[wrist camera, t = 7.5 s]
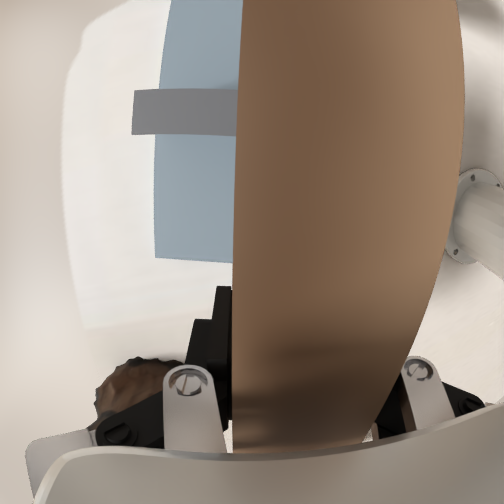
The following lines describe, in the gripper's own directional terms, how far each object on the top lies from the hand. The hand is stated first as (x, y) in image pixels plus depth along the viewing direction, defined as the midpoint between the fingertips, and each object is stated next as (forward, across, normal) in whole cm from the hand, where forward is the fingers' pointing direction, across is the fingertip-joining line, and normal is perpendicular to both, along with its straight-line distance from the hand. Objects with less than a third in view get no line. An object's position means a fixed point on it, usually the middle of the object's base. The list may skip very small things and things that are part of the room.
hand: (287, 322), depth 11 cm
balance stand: (+19, +2, -8) cm, 21 cm away
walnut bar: (+1, 0, 0) cm, 1 cm away
